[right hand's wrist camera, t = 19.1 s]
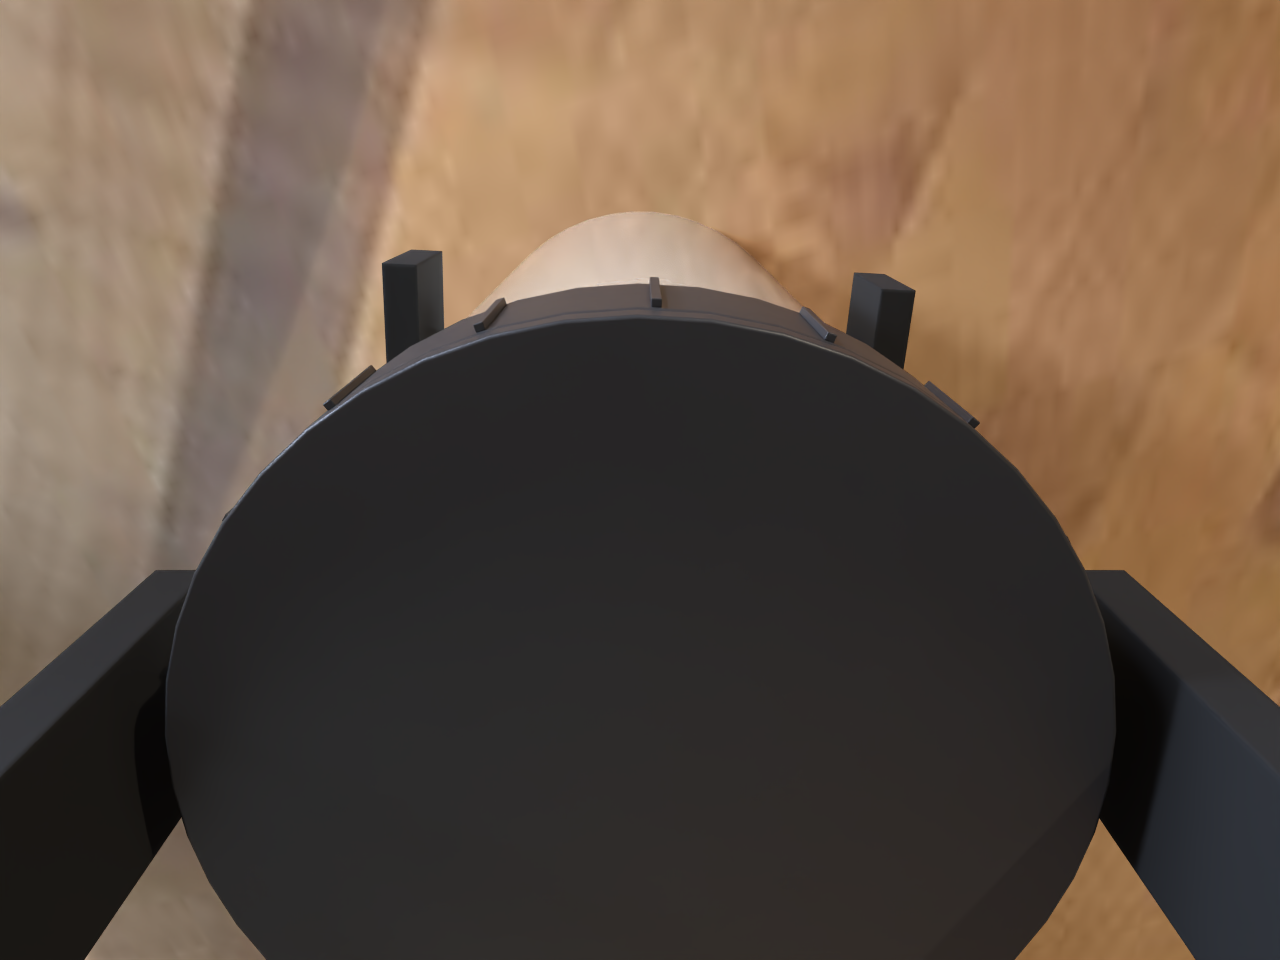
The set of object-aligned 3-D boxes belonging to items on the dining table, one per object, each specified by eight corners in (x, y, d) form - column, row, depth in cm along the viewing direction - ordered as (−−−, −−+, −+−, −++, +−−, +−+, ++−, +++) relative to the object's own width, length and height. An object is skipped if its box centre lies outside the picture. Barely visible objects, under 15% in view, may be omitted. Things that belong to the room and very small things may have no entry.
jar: (430, 444, 30) (115, 894, 12) (564, 148, 26) (409, 157, 9) (704, 572, 31) (789, 1138, 13) (861, 307, 28) (1244, 590, 10)
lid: (1037, 941, 14) (1104, 1075, 12) (349, 1011, 15) (302, 1152, 13) (1051, 219, 10) (1151, 238, 8) (126, 348, 11) (8, 395, 9)
